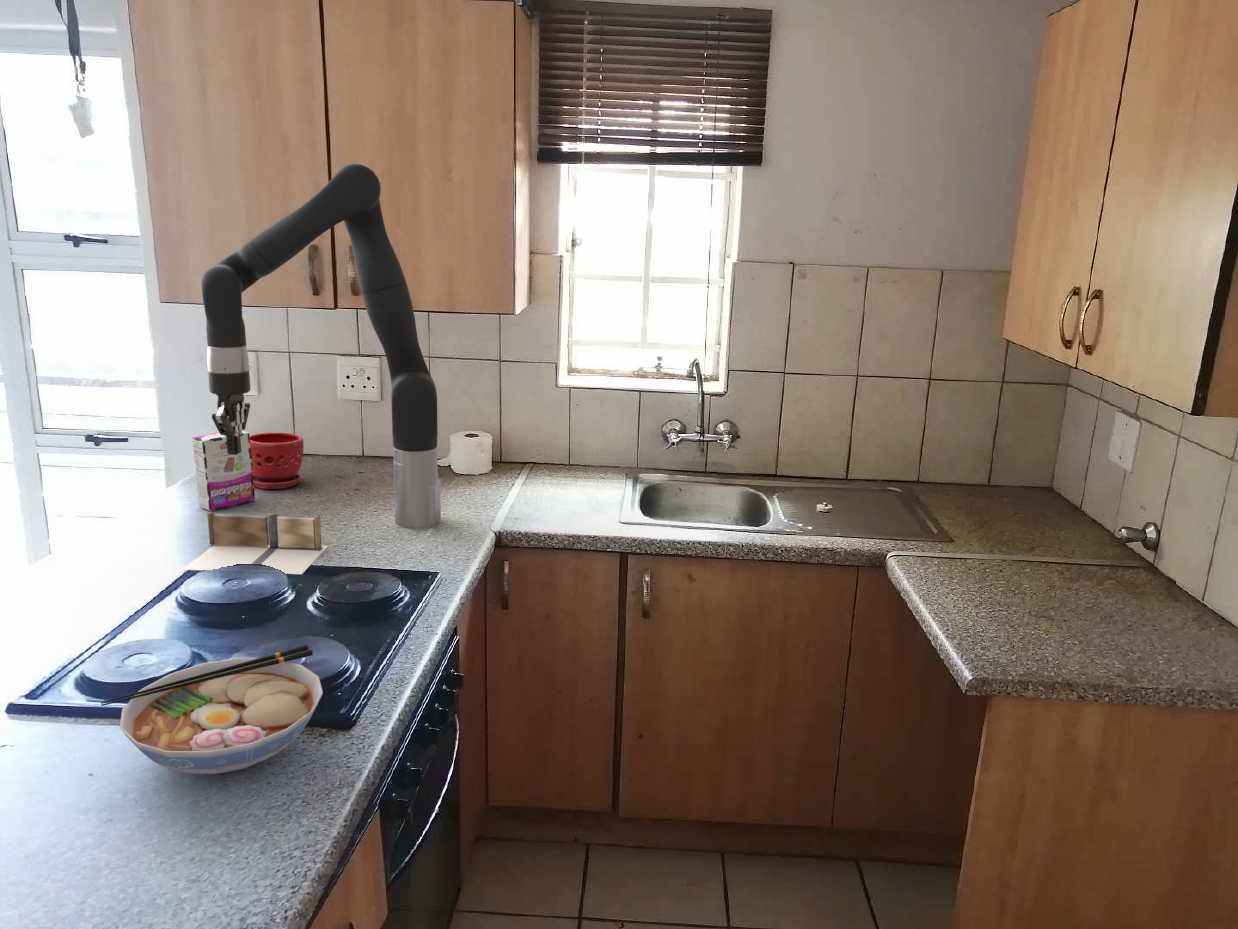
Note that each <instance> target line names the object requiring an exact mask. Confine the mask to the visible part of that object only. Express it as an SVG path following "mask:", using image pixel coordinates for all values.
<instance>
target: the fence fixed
mask: <svg viewBox="0 0 1238 929" xmlns="http://www.w3.org/2000/svg"><path fill="white" fill-rule="evenodd" d="M267 521H268V536H269V544H270V548H278V547H287V548H313V549H316V550H320V549H322V546H323V545H322V526H321V516H320V515H314V516H313V517H295V516H277V513H269V514H267ZM278 544H279V546H278Z"/></svg>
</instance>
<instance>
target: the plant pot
mask: <svg viewBox="0 0 1238 929" xmlns="http://www.w3.org/2000/svg"><path fill="white" fill-rule="evenodd" d="M249 437H250V448H251V459H252V470H253V482H254V487H256V488H260V490H261V489H262V490H264V489H265V490H281V489H286V488H289V487H292V486H295V485H296V484H298V483H299V482H300V480H301V475H300V474H299V471H300V470H301V467H302V463H303V458H304V438H303V436H301V435H299V434H295V433H290V432H261V433H255V434H250V435H249Z"/></svg>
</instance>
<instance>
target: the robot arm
mask: <svg viewBox="0 0 1238 929" xmlns="http://www.w3.org/2000/svg"><path fill="white" fill-rule="evenodd" d="M381 189H382V188H381V183H380V180H379V177H378V176H377V174H376V173H375V172H374V170H372V169H371V168H369V167H367V166H365V165H363V164H361V163H360V164H359V163H349V164H346V165H344V166H342V167H340V168H339V169H338V170H337V171H336V173H334V175H333V177H332V178H331V179H330V180H329V181H328V182H327V183H326V185H325V186H323V187H322V188H321V190H320V191H318V192H317V193H316V194H315V195H313V197H311V198H310V199H309V200H307V201H306V202H305V203H303V204H302V205H300V206H299V207H298V208H296V209H295V210H294V211H292V212H290V213H289V214H287V215H285V216H284V217H282V218H280V219H279V220H277V221H276V222H274V223H273V224H271V225H269V226H268V227H267V228H264V230H262V231H261V232H259V233H257V234H256V235H255V236H254V237H252V238H251V239H250V240H248V241H247V242H246V243H244V245H243V246H241V247H240V248H239V249H238V250H236V251H235V252H233V253H232V254H230V255H229V256H227V257H226V258H224V259H222V260H221V261H219V262H218V263H216V264H214V265H212V266H211V267H210V268H208V269H207V270H206V271H205V272H204V273H203V276H202V277H201V285H200V286H201V294H202V296H201V297H202V302H203V307H204V313H205V318H206V322H205V324H206V326H205V331H206V332H205V333H206V343H207V346H206V347H207V353H206V360H207V361H206V362H207V365H206V366H207V374H208V377H207V378H208V390H209V392H210V393H211V394H213V395H216V396H217V403H216V405H217V412H216V413H212V414H211V419H212V421H213V424H214V425H215V427H216V428H217V431H218V433H220V435H224V436H226V439H227V452H228V454H230V455H237V454H239V453H241V439H240V435H241V434H242V430H243V431H246V427H247V422H248V418H249V414H250V409H251V404H250V402H245V396H244V394H247V393H249V392H250V391H251V378H250V377H251V376H250V364H249V363H250V361H249V360H250V359H249V353H248V349H247V336H246V335H247V334H246V325H245V321H244V319H243V301H242V299H243V298H242V297H243V296H242V294H243V292H245V291H246V290H248V289H249V288H250V287H251V286H253V285H254V284H255V283H256V282H258V281H259V280H260V279H262V278H264V277H266V276H268V275H270V274H272V273H274V272H275V271H276V270H278V269H279V268H280V267H282V266H283V265H285V264H286V263H288V262H289V261H291V259H293V258H294V257H296V256H297V255H298V254H299V253H301V252H302V251H303V250H304V249H305V248H306V247H308V246H309V245H310V244H311V243H312V242H314V241H315V240H316V239H317V238H319V237H320V236H322V235H323V234H324V233H325V232H327V231H329V230H330V229H332V228H334V227H335V226H336V225H338V224H339V223H341V222H342V223H343V224H344V225H345V228H346V230H347V233H348V236H349V239H350V243H351V248H352V253H353V259H354V260H353V261H354V267H355V272H356V276H357V280H358V285H359V289H360V293H361V296H362V299H363V303H364V306H365V308H366V312H367V316H368V317H369V321H370V322H371V323H370V324H371V325H372V328H373V330H374V333H375V334H376V336H377V338H378V340H379V342H380V344H381V347H382V349H383V351H384V354H385V358H386V361H387V367H388V372H389V377H390V384H391V394H390V395H391V426H392V430H391V431H392V449H393V450H392V451H393V452H392V453H393V488H394V490H393V492H394V517H395V518H394V519H395V520H394V521H395V524H396V526H398V527H400V528H404V529H411V530H412V529H413V530H414V529H415V530H416V529H417V530H418V529H427V528H430V529H435V528H437V526H438V524H439V523H440V521H441V519H442V517H441V516H442V515H441V514H442V513H441V507H442V506H441V478H439V473H438V471H439V470H438V469H439V468H438V464H439V463H438V431H439V430H438V393H437V388H436V387H437V386H436V384H435V380H434V379H433V378H432V376H431V373H430V371H429V368H428V366H427V364H426V363H427V362H426V361H425V357H424V355H423V352H422V350H421V347H420V346H421V345H420V343H419V337H418V332H417V324H416V317H415V313H414V307H413V303H412V299H411V295H410V291H409V290H410V289H409V288H408V284H407V281H406V278H405V274H404V272H403V269H402V266H401V264H400V261H399V258H398V256H397V255H396V254H397V253H396V252H395V250H394V248H393V245H392V244H391V242H390V239H389V237H388V236H389V235H388V234H387V230H386V226H385V222H384V217H383V211H382V207H381V206H382V205H381V200H380V198H381V192H382V190H381Z"/></svg>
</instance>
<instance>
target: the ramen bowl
mask: <svg viewBox="0 0 1238 929" xmlns="http://www.w3.org/2000/svg"><path fill="white" fill-rule="evenodd" d="M311 656H314V654H313V650H312V649H309V645H308V644H303V645H299V646H295V647H291V648H289V649H286V650H282V651H279V652H277V653H272V654H268V655H264V656H261V657H235V658H228V659H221V660H215V661H210V662H202V663H199V664H197V665H192V666H190V667H188V668H184V669H181V670H177V671H174V672H171V673H169V674H167V675H165V676H162V677H160V678H159V679H158V680H155V681H154V682H152V683H150V684H148V685H147V686H144V687H143V688H141V689H139V690H138V691H137V692H133V693H130V694H127V695H122V696H119V697H117V698H112V699H108V700H105V701H101V702H100V704H101V705H100V707H103V706H107V705H112V704H116V703H120V702H124V701H128V700H129V701H128V702H127V703H126V704H125V705H124V706H123V707H122V709H121V715H120V722H119V729H120V730H121V731H122V733H123V734H124V735H125V737H127V739H128V740H129V741H130V742H131V743H132V744H133V745H134V746H135V747H136V748H137V749H138V750H139V751H140V752H141V753H142V754H144V756H146V757H147V758H149V760H151V762H154V763H156V764H158V765H159V766H161V767H165V768H167V769H171V770H173V771H178V772H181V773H185V774H190V775H191V774H198V775H199V774H201V775H203V774H205V775H210V774H212V775H215V774H216V775H218V774H223V773H227V772H233V771H238V770H239V771H240V770H243V769H244V770H245V769H246V768H248V767H249V768H250V767H251V766H253V765H256V764H258V763H261V762H263V761H265V760H268V759H270V758H272V757H274V756H276V755H277V754H278V753H279V752H281V751H282V750H283V749H285V748H286V747H287V746H289V745H290V744H292V742H294V741H295V740H296V739H297V738H298V737H299V736H300V734H301V733H302V732H303V731H304V729H305V727H306V726H307V725H308V723H309V722H310V721H311V720H310V719H311V718H312V716H313V714H314V712H315V711H316V708H317V707H318V704H319V702H320V701H321V699H322V696H323V695H324V691H323V687H322V683H321V678H320V676H318V674H316V673H314V671H311V670H310V669H309V668H307V667H306V666H304V665H302V664H301V663H296V662H291V661H295V660H298V659H303V658H308V657H311Z"/></svg>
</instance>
